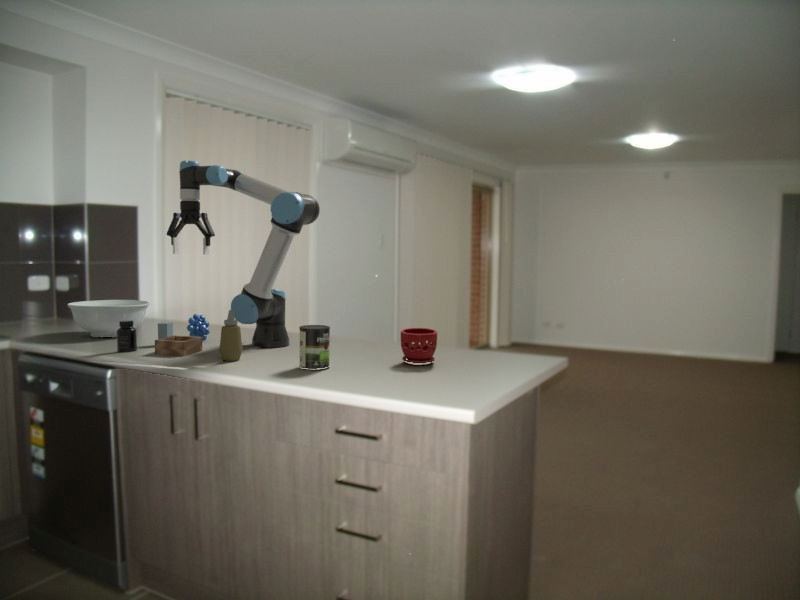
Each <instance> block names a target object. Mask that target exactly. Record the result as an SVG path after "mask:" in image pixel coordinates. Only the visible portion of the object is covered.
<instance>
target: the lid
mask: <svg viewBox="0 0 800 600" xmlns="http://www.w3.org/2000/svg"><path fill="white" fill-rule="evenodd" d="M173 325H174V323H173V322H167V321H163V322H159V323H157V339H161V338H166V337H170V336H174V326H173Z"/></svg>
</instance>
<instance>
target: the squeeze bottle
mask: <svg viewBox="0 0 800 600" xmlns="http://www.w3.org/2000/svg"><path fill="white" fill-rule="evenodd" d="M227 314H228V315H227V317H226V318H227V319H224V320H223V322H224V323H223V326H222V327H221V329H220V330H221V331H220V340H219V341H220V342H219V353H220V356H221V359H222V360H223V361H225V362H234V361H235V362H237V361H239V360H240V359H241V356H242V353H243V342H242V333H241V332H242V331H241V327H240V326H239V325H238V323H239V322H238V320H236V319H235V318H234V314H233V310H231V309H229V310H228V313H227Z"/></svg>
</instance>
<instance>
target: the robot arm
mask: <svg viewBox="0 0 800 600" xmlns="http://www.w3.org/2000/svg"><path fill="white" fill-rule="evenodd" d="M178 172H179V199H180V201H179V203H180V204H179V209H180V213H179V212H173V214H172V220H171V222H170V224H169V227H168V229H167V231H166V236H168V237H170V240H171V241H170V242H171V246H172V253H173V254H174V255H176V254H177V255H178V254H179V253H180V250H179V248H180V247H179V237H178V235H179V234H180V233H181V231H182V230H183V228H184V227H185V226H186V225H195V226H196V227H197V228H198V230H199V231H200V233H201V234H202V235H203V236H204V237H202V249H203V250H202V251H203V254H202V255H210V254H209V253H210V252H209V251H210V250H209V249H210V247H211V238H213V237H215V236H216V234H215V231H214V230H213V227H212V224H211V222H210V220H209V218H208V213H207V212H201V213H200V211H201V201H200V200H201V186H213V187H221V188H227V189H230V190H232V191H236V192H238V193H240V194H243V195H246V196H248V197H250V198H253V199H255V200H258V201H259V202H264V203H265V204H268V205H270V212H271V219H270V223H271V226H272V227H271V230H270V231H269V235H268V237H267V240H266V243H265V245H264V247H263V249H262V252H261V254H260V257H259V259H258V262H257V264H256V267H255V268H254V271H253V274H252V277H251V278H250V282H248V283H246V284H244V285H243V287H242V289H241V292H240V293H239V294H237V295H235V296H234V297H233V299H232V300H231V302H230V310H233V314H234V319H235V320H238V323H240V324H241V325H253V324H256V325H255V329H254V332H253V336H252V338H251V346H253V347H260V348H272V349H273V348H282V347H288V346H290V337H289V334H288V330H287V328H286V293H285V291H284V290H283V289H276V288H274V289H273V287H274V284H275V282H276V280H277V277H278V275H279V272H280V270H281V268H282V265H283V263H284V261H285V259H286V256H287V254H288V252H289V249H290V246H291V244H292V241H293V239H294V237H295V236H297V235H299V234H300V233H301V231H302V229H303V226H308V225H311V224H313V223H315V221H316V220H317V219H318V217H319V215H320V211H321V209H320V204H319V202H318V200H317V199H316V198H315V197H314V196H312V195H309V194H305V193H304V194H303V193H301V192H298V191H288V190H286V189H283V188H281V187H277V186H275V185H272V184H270V183H267V182H265V181H263V180H260V179H257V178H255V177H252V176H250V175H247V174H244V173H242V172H241V171H239V170H236V169H229V168H225V167H224V166H223V165H217V164H215V165H214V164H213V165H200V162H199V161H195V160H182V161H180V163H179V171H178ZM200 219H201V220H200ZM179 220H180V221H179ZM202 222H203V224H202ZM287 345H288V346H287Z"/></svg>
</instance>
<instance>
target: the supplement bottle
mask: <svg viewBox="0 0 800 600" xmlns="http://www.w3.org/2000/svg"><path fill="white" fill-rule="evenodd" d="M119 326H120V328H119V329H118V330H117V337H116V351H117V352H118V353H133V352H137V351H138V336H137V335H138V333H137V329H136V328H134V327H133V326H134V324H133V321H132V320H125V321H119Z"/></svg>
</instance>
